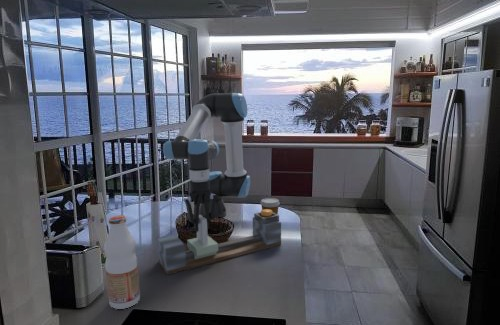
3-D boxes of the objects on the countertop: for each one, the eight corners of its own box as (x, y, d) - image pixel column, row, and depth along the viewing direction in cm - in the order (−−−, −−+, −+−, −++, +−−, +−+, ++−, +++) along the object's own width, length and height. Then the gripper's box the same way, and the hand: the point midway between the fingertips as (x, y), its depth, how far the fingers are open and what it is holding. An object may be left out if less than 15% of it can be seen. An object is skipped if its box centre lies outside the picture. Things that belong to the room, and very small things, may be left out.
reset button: (258, 215, 158) (258, 210, 158) (268, 213, 160) (268, 208, 160) (264, 218, 154) (264, 213, 153) (274, 216, 156) (274, 211, 156)
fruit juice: (112, 314, 108) (104, 225, 103) (106, 299, 116) (98, 216, 111) (144, 304, 113) (137, 219, 108) (136, 290, 121) (129, 211, 116)
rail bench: (158, 261, 142) (156, 231, 139) (266, 235, 166) (266, 209, 164) (167, 274, 132) (165, 242, 129) (281, 244, 156) (281, 216, 154)
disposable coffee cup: (279, 220, 185) (279, 197, 183) (279, 227, 176) (279, 203, 174) (261, 219, 186) (261, 197, 184) (260, 226, 177) (259, 203, 175)
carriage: (187, 251, 146) (185, 215, 143) (208, 246, 151) (206, 211, 148) (197, 261, 138) (195, 223, 135) (218, 255, 142) (217, 218, 139)
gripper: (184, 184, 132) (187, 245, 136) (221, 179, 139) (223, 236, 143) (177, 180, 138) (180, 238, 143) (213, 175, 145) (215, 230, 150)
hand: (202, 237), depth 143 cm, fingers closed on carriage, 2 cm apart
